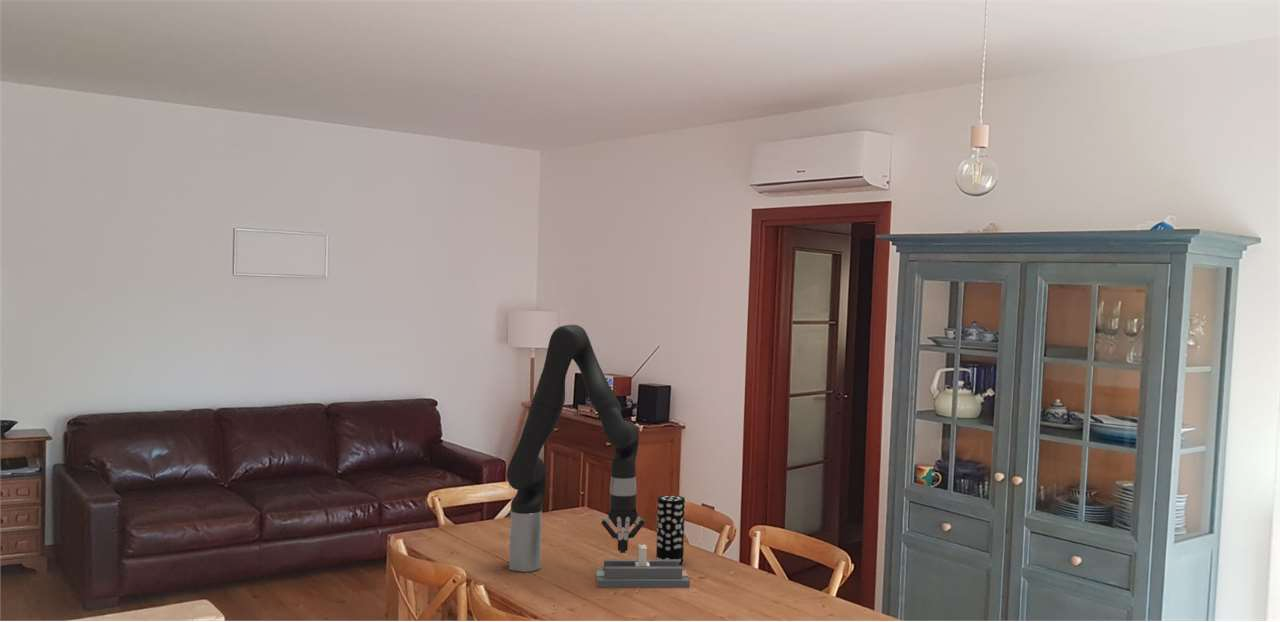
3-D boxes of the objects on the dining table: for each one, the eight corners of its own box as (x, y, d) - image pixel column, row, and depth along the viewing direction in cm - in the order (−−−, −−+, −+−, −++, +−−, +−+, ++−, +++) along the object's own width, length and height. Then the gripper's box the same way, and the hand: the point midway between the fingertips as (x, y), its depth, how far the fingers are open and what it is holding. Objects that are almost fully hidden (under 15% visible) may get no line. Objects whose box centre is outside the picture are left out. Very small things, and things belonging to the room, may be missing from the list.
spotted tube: (680, 567, 287) (682, 502, 286) (653, 565, 288) (655, 500, 288) (685, 560, 295) (686, 496, 294) (658, 558, 296) (660, 494, 296)
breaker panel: (597, 587, 266) (597, 570, 266) (596, 574, 278) (596, 557, 278) (689, 587, 268) (689, 570, 268) (684, 574, 280) (684, 557, 280)
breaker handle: (635, 575, 271) (636, 548, 270) (634, 571, 275) (635, 544, 274) (649, 575, 271) (650, 548, 271) (648, 571, 275) (649, 544, 275)
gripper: (600, 495, 267) (600, 556, 268) (647, 494, 268) (646, 555, 269) (599, 489, 275) (599, 549, 275) (645, 489, 276) (644, 548, 276)
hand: (622, 552), depth 272 cm, fingers closed
